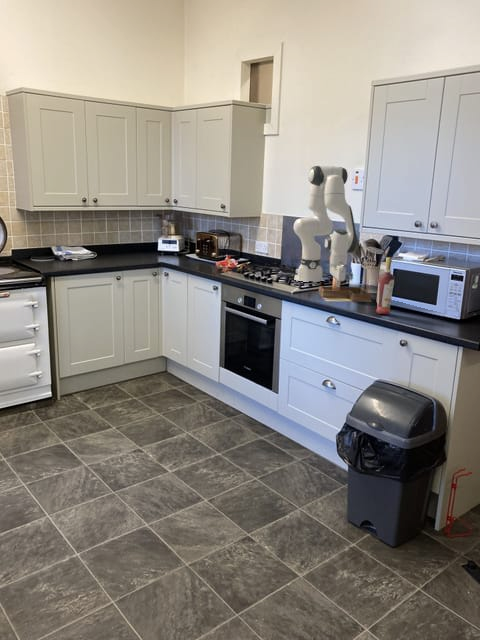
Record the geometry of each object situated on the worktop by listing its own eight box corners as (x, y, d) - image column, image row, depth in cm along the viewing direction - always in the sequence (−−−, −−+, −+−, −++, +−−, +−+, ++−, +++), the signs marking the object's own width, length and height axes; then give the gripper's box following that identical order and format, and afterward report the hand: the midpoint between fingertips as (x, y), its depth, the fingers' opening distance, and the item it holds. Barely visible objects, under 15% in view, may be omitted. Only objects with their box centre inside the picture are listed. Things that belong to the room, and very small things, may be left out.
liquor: (383, 316, 261) (390, 259, 253) (371, 313, 266) (378, 257, 258) (393, 314, 265) (400, 258, 257) (381, 311, 270) (388, 256, 262)
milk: (377, 301, 290) (381, 260, 284) (388, 302, 288) (393, 261, 282) (375, 303, 284) (380, 262, 278) (387, 305, 282) (392, 263, 276)
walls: (318, 293, 298) (319, 286, 297) (360, 293, 300) (361, 286, 299) (325, 301, 282) (326, 293, 281) (370, 301, 284) (371, 294, 283)
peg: (338, 292, 296) (339, 278, 294) (340, 293, 292) (341, 279, 290) (331, 292, 296) (332, 277, 293) (332, 293, 292) (334, 279, 290)
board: (318, 295, 299) (318, 293, 298) (362, 295, 301) (362, 293, 301) (325, 302, 282) (325, 301, 282) (371, 303, 285) (372, 301, 284)
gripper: (349, 264, 279) (347, 290, 283) (339, 257, 299) (337, 281, 303) (337, 264, 279) (335, 290, 283) (328, 257, 298) (326, 281, 302)
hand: (336, 285), depth 293 cm, fingers closed on peg, 4 cm apart
